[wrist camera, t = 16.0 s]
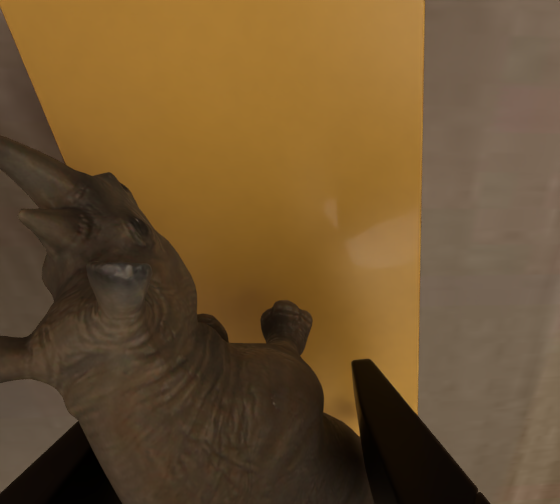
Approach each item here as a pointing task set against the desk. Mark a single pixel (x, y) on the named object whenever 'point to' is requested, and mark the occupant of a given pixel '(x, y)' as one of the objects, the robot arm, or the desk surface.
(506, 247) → the desk surface
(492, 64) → the desk surface
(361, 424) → the robot arm
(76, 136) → the cover
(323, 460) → the rhino figurine
